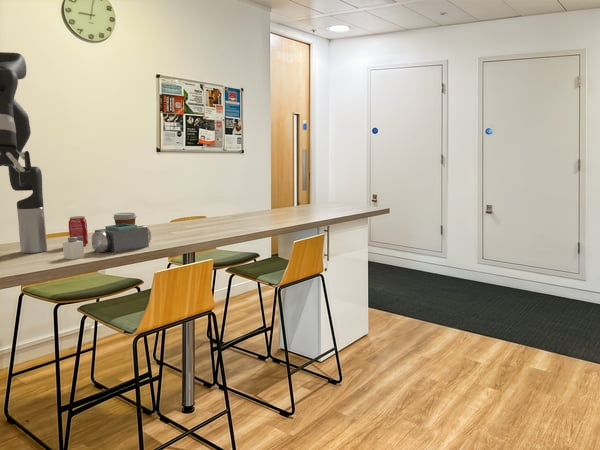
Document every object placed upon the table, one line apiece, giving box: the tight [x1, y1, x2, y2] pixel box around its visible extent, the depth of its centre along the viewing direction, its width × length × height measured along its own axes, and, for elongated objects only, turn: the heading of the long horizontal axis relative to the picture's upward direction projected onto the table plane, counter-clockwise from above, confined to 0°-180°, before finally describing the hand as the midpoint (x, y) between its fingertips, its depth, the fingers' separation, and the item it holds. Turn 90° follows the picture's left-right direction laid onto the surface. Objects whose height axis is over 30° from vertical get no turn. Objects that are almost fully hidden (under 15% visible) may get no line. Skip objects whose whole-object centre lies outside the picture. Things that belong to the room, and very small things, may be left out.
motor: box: [91, 224, 152, 254], centre depth 204 cm, size 12×22×9 cm, turn 145°
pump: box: [62, 237, 85, 260], centre depth 187 cm, size 5×5×8 cm
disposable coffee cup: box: [112, 212, 137, 225], centre depth 222 cm, size 10×10×12 cm
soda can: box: [68, 215, 89, 247], centre depth 212 cm, size 7×7×12 cm
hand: (4, 185), depth 150 cm, fingers open, 8 cm apart
